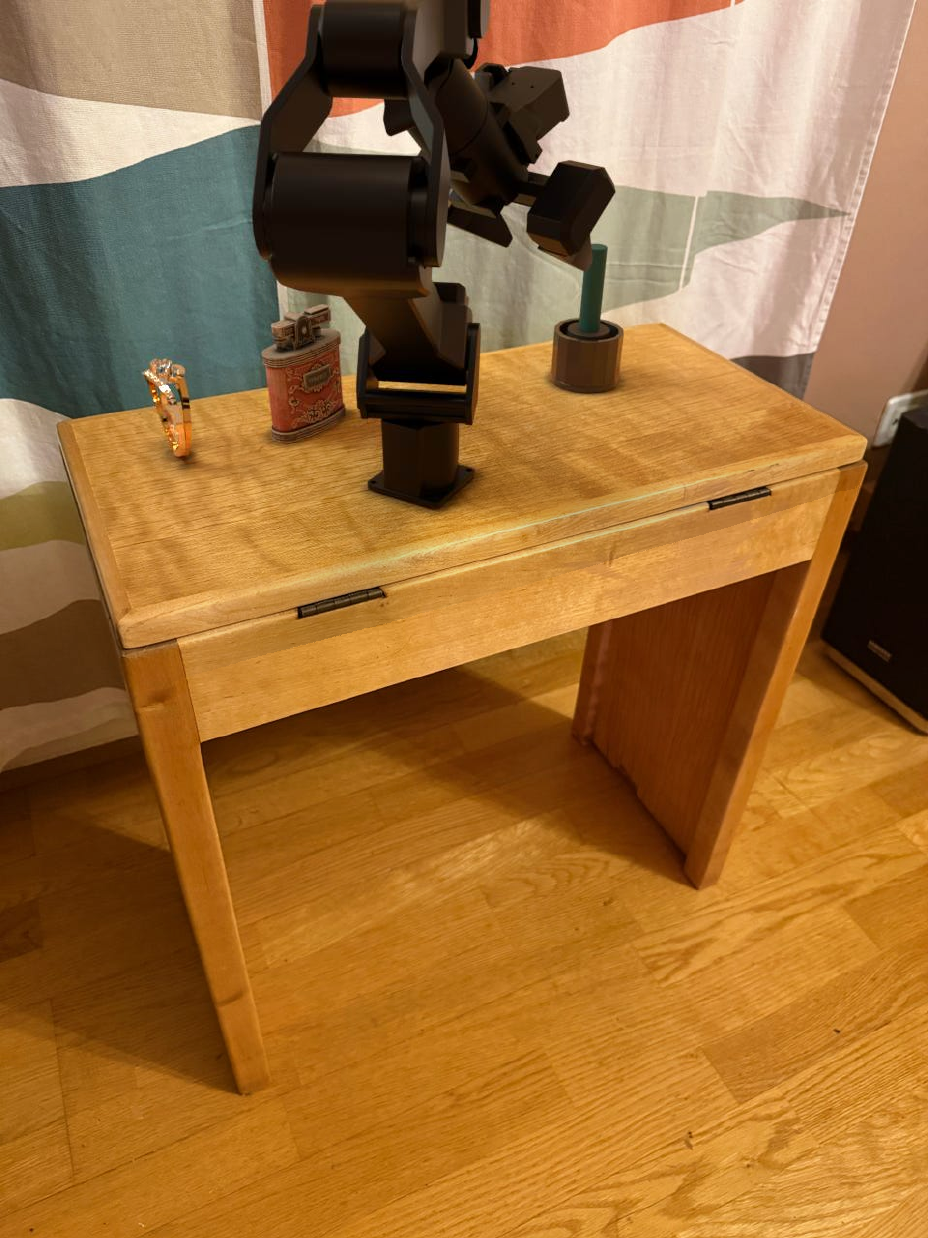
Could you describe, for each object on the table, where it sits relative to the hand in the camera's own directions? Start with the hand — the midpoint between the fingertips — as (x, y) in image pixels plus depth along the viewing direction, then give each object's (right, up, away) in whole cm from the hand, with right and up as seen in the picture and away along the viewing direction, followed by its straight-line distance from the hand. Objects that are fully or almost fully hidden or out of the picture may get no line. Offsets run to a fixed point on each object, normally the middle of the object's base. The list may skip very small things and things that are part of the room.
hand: (547, 254), depth 78 cm
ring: (-31, -18, -2) cm, 36 cm away
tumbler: (+5, -8, +11) cm, 15 cm away
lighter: (-21, -14, +3) cm, 25 cm away
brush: (+5, -7, +11) cm, 14 cm away
